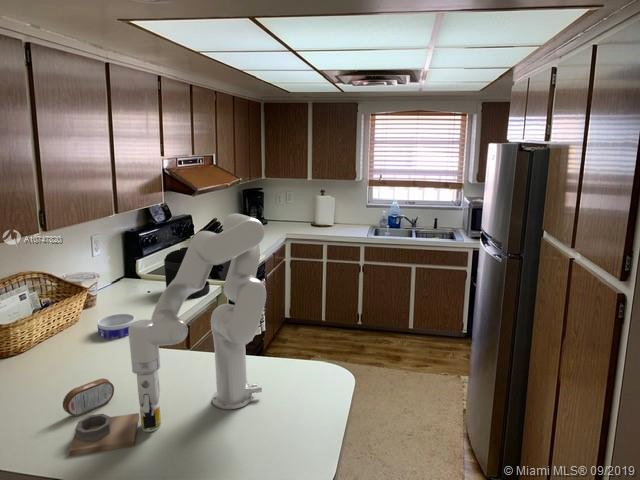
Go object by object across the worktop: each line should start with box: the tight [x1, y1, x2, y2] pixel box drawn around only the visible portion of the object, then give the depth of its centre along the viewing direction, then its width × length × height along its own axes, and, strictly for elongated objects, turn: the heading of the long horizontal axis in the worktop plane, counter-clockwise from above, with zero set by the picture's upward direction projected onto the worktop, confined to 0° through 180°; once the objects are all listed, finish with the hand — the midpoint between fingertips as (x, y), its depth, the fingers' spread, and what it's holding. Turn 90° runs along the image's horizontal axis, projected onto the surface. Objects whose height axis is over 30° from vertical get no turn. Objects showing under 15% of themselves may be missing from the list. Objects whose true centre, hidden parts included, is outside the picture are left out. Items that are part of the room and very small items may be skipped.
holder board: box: [68, 412, 140, 457], centre depth 134 cm, size 16×14×4 cm
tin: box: [62, 378, 115, 417], centre depth 147 cm, size 15×3×8 cm, turn 141°
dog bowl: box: [96, 313, 137, 340], centre depth 207 cm, size 15×15×6 cm
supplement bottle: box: [139, 402, 162, 433], centre depth 138 cm, size 5×5×10 cm
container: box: [163, 246, 211, 299], centre depth 258 cm, size 22×23×25 cm
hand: (151, 420), depth 138 cm, fingers closed on supplement bottle, 5 cm apart
